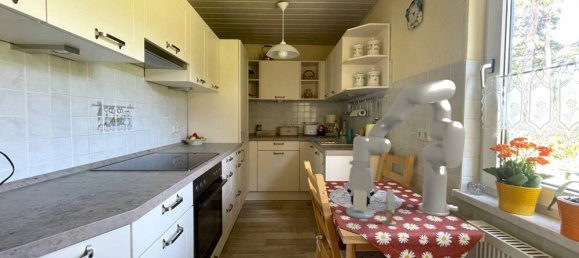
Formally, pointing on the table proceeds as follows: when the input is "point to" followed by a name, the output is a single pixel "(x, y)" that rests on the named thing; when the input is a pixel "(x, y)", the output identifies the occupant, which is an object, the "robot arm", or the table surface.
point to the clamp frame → (388, 215)
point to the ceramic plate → (360, 213)
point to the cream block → (360, 200)
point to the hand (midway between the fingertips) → (360, 204)
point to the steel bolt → (390, 200)
